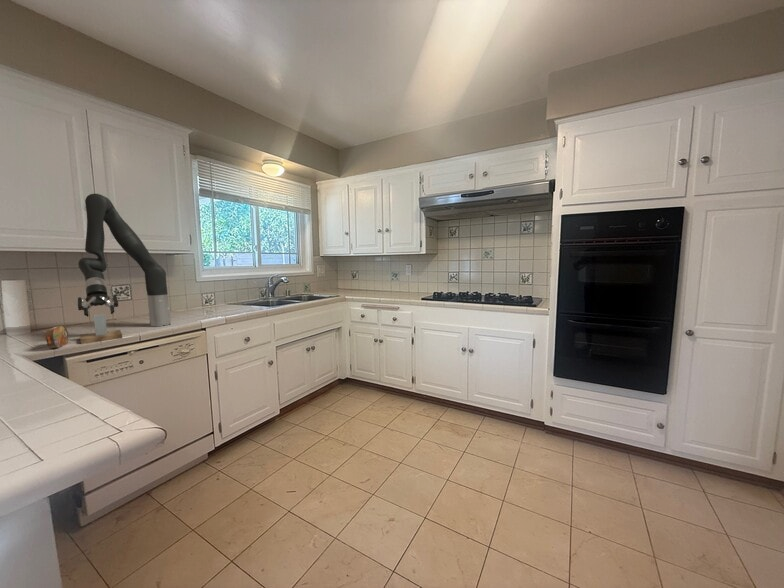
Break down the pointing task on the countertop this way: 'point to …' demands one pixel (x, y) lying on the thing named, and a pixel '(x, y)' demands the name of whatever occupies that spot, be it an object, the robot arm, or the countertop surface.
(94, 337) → the walnut board
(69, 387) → the countertop surface
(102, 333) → the slate block
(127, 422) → the countertop surface
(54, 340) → the tin
